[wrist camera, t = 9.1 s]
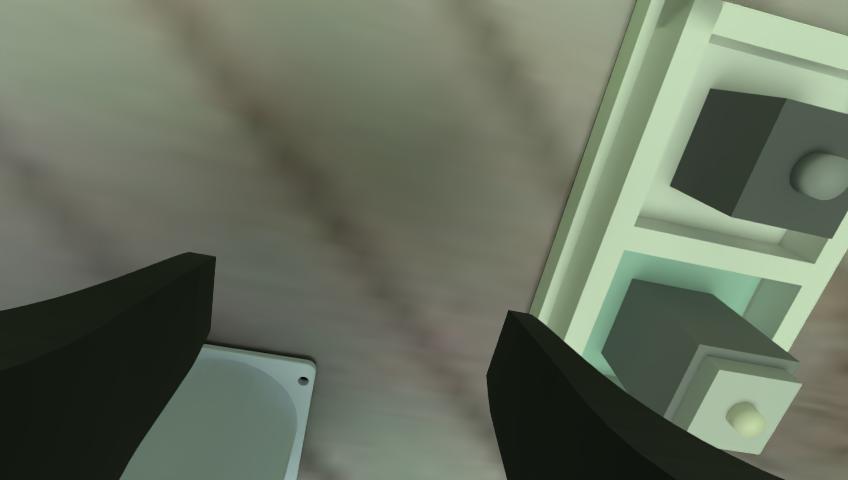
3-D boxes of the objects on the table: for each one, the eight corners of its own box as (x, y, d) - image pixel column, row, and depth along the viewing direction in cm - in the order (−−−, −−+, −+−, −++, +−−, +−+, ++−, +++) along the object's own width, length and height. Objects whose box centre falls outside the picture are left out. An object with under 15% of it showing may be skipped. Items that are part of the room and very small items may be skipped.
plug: (754, 204, 21) (851, 247, 16) (669, 186, 20) (746, 224, 16) (800, 111, 20) (920, 130, 15) (710, 88, 19) (807, 101, 15)
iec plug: (677, 365, 24) (775, 477, 18) (600, 352, 23) (674, 463, 17) (712, 294, 22) (833, 387, 16) (632, 278, 22) (725, 369, 16)
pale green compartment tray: (706, 395, 26) (746, 439, 23) (511, 363, 25) (527, 406, 22) (880, 66, 20) (964, 69, 17) (637, -2, 19) (683, -11, 16)
